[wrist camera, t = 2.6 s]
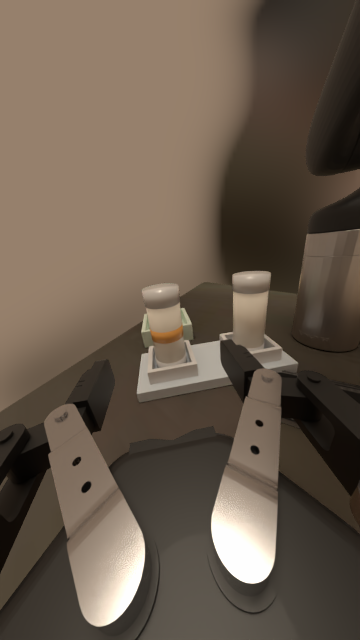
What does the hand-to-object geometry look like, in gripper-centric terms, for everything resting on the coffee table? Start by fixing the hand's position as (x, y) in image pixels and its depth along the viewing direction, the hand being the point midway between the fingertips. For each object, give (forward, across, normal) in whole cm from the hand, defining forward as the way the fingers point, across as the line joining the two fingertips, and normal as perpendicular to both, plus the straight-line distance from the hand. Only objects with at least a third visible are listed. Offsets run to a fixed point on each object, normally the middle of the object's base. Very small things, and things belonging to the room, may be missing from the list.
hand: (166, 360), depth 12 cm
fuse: (+12, -12, +9) cm, 19 cm away
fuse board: (+12, -6, +10) cm, 17 cm away
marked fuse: (+12, 0, +9) cm, 15 cm away
